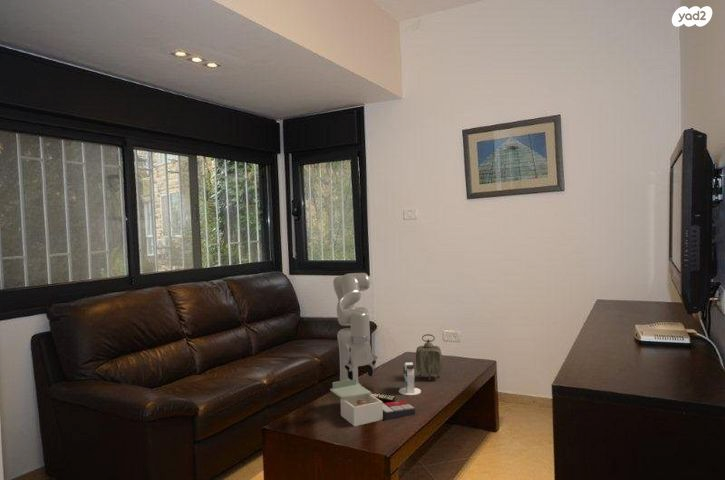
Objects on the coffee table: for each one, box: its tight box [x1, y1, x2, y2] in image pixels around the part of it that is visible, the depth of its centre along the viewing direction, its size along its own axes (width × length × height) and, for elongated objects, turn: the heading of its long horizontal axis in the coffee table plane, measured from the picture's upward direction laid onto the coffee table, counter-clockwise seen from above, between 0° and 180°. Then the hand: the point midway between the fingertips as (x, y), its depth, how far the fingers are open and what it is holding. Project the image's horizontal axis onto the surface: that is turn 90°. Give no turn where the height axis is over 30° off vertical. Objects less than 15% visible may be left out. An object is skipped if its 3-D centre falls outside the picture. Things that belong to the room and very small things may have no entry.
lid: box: [329, 378, 372, 399], centre depth 224 cm, size 14×14×4 cm
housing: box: [339, 393, 384, 427], centre depth 214 cm, size 14×14×8 cm
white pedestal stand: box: [398, 359, 422, 396], centre depth 247 cm, size 12×11×15 cm
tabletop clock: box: [415, 333, 443, 381], centre depth 266 cm, size 14×9×25 cm, turn 84°
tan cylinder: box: [357, 400, 366, 406], centre depth 214 cm, size 4×4×6 cm
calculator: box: [382, 400, 416, 421], centre depth 218 cm, size 11×4×15 cm
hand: (360, 377), depth 214 cm, fingers open, 9 cm apart
